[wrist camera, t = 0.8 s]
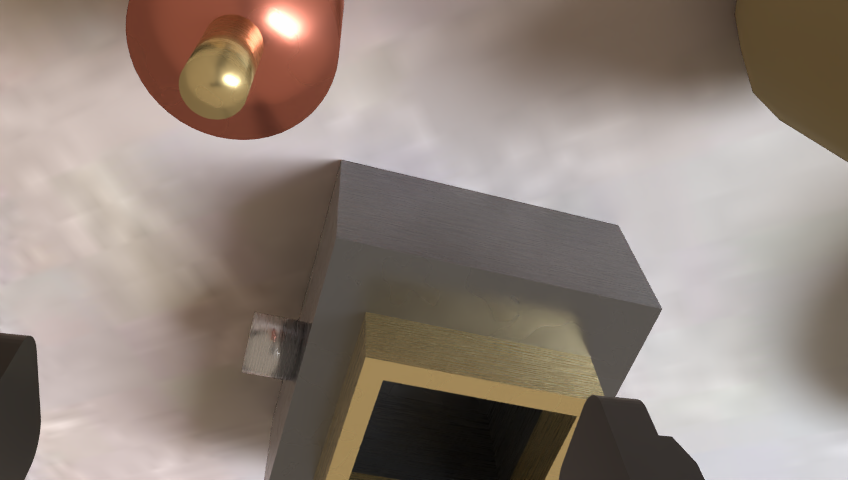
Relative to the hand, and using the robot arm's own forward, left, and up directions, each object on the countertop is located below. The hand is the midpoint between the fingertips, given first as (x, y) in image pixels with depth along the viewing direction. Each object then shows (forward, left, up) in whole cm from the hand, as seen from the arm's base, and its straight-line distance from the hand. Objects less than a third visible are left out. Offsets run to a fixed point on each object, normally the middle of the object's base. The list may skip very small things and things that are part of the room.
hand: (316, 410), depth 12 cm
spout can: (-2, -3, -20) cm, 20 cm away
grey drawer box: (+12, +6, -20) cm, 25 cm away
